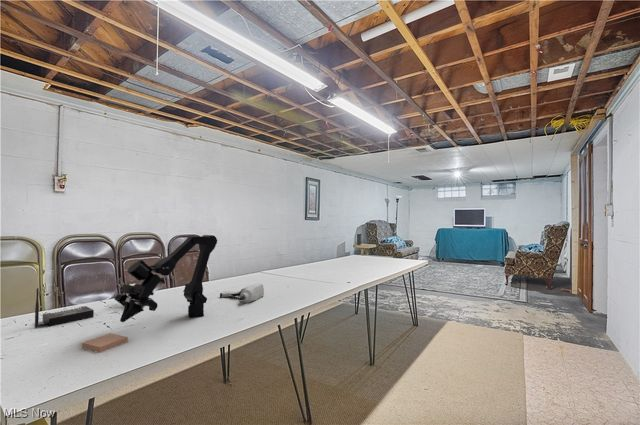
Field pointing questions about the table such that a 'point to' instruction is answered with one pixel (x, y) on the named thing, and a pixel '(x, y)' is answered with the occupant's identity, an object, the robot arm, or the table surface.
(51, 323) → the black l-shaped piece
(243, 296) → the impact wrench
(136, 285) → the robot arm
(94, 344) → the tile
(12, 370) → the table surface
